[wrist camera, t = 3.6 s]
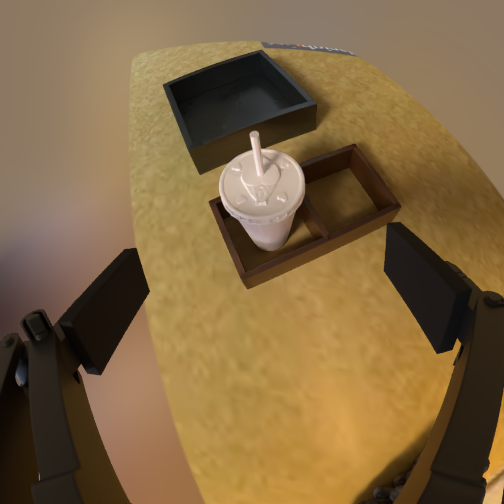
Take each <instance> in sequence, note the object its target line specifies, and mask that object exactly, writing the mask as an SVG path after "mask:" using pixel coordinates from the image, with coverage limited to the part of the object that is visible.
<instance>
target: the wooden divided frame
mask: <svg viewBox="0 0 504 504" xmlns="http://www.w3.org/2000/svg"><path fill="white" fill-rule="evenodd" d="M299 165H300V167H301V169H302V171H303V174H304V178H305V184H308V183H310V182H312V181H315V180H317V179H320V178H322V177H325V176H328V175H330V174H333V173H335V172H338V171H340V170H343V169H345V168H348V167H349V168H350V169H351V171H352V172H353V173H354V175H355V176H356V178H357V179H358V181H359V182H360V183H361V185H362V186H363V188H364V189H365V191H366V192H367V194H368V195H369V197H370V198H371V200H372V201H373V203H374V204H375V206H376V207H377V209H378V210H379V211H378V212H376V213H374V214H372V215H370V216H368V217H365V218H363V219H361V220H359V221H357V222H355V223H353V224H350V225H348V226H346V227H344V228H342V229H340V230H337V231H335V232H333V233H331V234H329V233H328V231H327V229H326V227H325V226H324V224H323V222H322V221H321V219H320V217H319V215H318V214H317V212H316V210H315V209H314V207H313V205H312V204H311V202H310V200H309V199H308V197H307V195H306V194H305V195H304V198H303V200H302V203H301V205H300V206H299V207H298V209H297V210H298V212H299V213H300V215H301V217H302V219H303V220H304V222H305V224H306V226H307V228H308V229H309V231H310V233H311V235H312V237H313V238H314V240H315V241H313V242H311V243H309V244H307V245H305V246H302V247H300V248H298V249H296V250H294V251H291V252H289V253H287V254H285V255H283V256H280V257H278V258H276V259H274V260H271V261H269V262H267V263H265V264H262V265H260V266H258V267H256V268H253V269H251V270H249V271H247V272H246V270H245V268H244V266H243V264H242V261H241V259H240V257H239V254H238V252H237V250H236V248H235V245H234V243H233V241H232V238H231V236H230V234H229V231H228V229H227V227H226V224H225V222H224V220H223V219H225V218H227V217H229V216H231V214H230V213H229V212H228V211H227V210H226V209H225V207H224V205H223V202H222V200H221V196H219V197H217V198H215V199H213V200H210V201H209V204H210V207H211V209H212V212H213V214H214V217H215V219H216V221H217V224H218V226H219V229H220V231H221V233H222V236H223V238H224V240H225V243H226V245H227V248H228V250H229V252H230V255H231V257H232V259H233V262H234V264H235V267H236V269H237V271H238V274H239V276H240V278H241V280H242V282H243V284H244V285H245V287H246V288H247V289H250V288H252V287H255V286H257V285H259V284H261V283H264V282H266V281H268V280H270V279H273V278H275V277H277V276H279V275H281V274H284V273H286V272H288V271H290V270H292V269H295V268H297V267H299V266H301V265H303V264H305V263H308V262H310V261H312V260H314V259H316V258H318V257H320V256H323V255H325V254H327V253H329V252H331V251H333V250H335V249H337V248H339V247H342V246H344V245H346V244H348V243H350V242H352V241H354V240H356V239H358V238H360V237H362V236H364V235H366V234H368V233H370V232H373V231H375V230H377V229H379V228H381V227H383V226H385V225H387V223H391V222H392V220H393V219H394V217H395V216H396V214H397V213H398V211H399V210H400V208H401V205H400V204H399V202H398V201H397V199H396V198H395V196H394V195H393V194H392V192H391V191H390V189H389V188H388V186H387V185H386V184H385V182H384V181H383V179H382V178H381V177H380V175H379V174H378V173H377V171H376V170H375V169H374V167H373V166H372V165H371V163H370V162H369V161H368V159H367V158H366V157H365V155H364V154H363V153H362V152H361V150H360V149H359V148H358V147H357V145H356V144H352V145H349V146H346V147H343V148H340V149H337V150H335V151H332V152H329V153H326V154H323V155H321V156H318V157H315V158H313V159H310V160H307V161H305V162H302V163H299Z"/></svg>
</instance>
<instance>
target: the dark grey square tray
mask: <svg viewBox="0 0 504 504" xmlns="http://www.w3.org/2000/svg"><path fill="white" fill-rule="evenodd" d="M163 87H164V90H165V93H166V95H167V98H168V100H169V103H170V106H171V108H172V111H173V113H174V116H175V118H176V121H177V123H178V126H179V129H180V131H181V134H182V136H183V139H184V141H185V144H186V146H187V149H188V151H189V153H190V155H191V158H192V160H193V162H194V164H195V166H196V168H197V170H198V172H199V174H200V175H201V174H203V173H205V172H207V171H210V170H212V169H214V168H216V167H219V166H221V165H224V164H226V163H228V162H230V161H231V160H233V159H234V158H235V157H237V156H238V155H240V154H242V153H244V152H247V151H250V150H253V149H252V144H251V139H250V133H251V132H252V131H257V132H258V133H259V139H260V145H261V149H263V148H266V147H268V146H271V145H274V144H276V143H279V142H282V141H285V140H287V139H290V138H293V137H296V136H299V135H301V134H304V133H307V132H310V131H313V130H315V129H316V114H317V103H316V102H315V101H314V100H313V99H312V98H311V97H310V96H309V95H308V94H307V93H306V92H305V91H304V90H303V88H302V87H301V86H300V85H299V84H298V83H297V82H296V81H295V80H294V79H293V78H292V77H291V76H290V75H289V74H287V73H286V72H285V71H284V70H283V69H282V68H281V67H280V66H279V65H278V64H277V63H276V62H275V61H274V60H273V59H272V58H270V57H269V56H268V55H267V54H266V53H265V52H264V51H263V50H258V51H255V52H251V53H248V54H244V55H241V56H237V57H234V58H231V59H228V60H225V61H222V62H219V63H216V64H213V65H210V66H208V67H205V68H202V69H199V70H197V71H194V72H192V73H189V74H187V75H184V76H182V77H179V78H177V79H174V80H172V81H170V82H168V83H165V84H163Z"/></svg>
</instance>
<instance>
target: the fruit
mask: <svg viewBox="0 0 504 504" xmlns="http://www.w3.org/2000/svg"><path fill="white" fill-rule="evenodd" d="M420 455H421V454H420ZM420 455H418V456H417V457H416V458H415V460H414V463H413V465H414V466H413V467H412V469H411V471H408V472H406V473H404V474H400V475H397V476H396V477H395V478H394V480H393V483H392V486H393V487H391V486H388V485H386V484H382V485H380V486H378V487H377V488H376V489H375V490H374V492H373V497H371V498H369V499H368V500H365V501H362V502H360V503H359V504H393V503H394V501H395V500H396V498H397V497H398V495H399V494H400V492H401V490H402V489H403V487H404V485H405V483H406V482H407V480H408V478H409V476H410V475H411V473H412V471H413V469H414V467H415V465H416V463H417V461H418V459H419V457H420ZM489 464H490V462H489V459H488V461H487V464H486V467H485V470H484V473H485V472H486V471H487V470H488V468H489ZM481 484H482V485H483V486H485V487H486V485H487V482H486V479H485V478H483V477H482V480H481Z"/></svg>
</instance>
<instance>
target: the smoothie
mask: <svg viewBox="0 0 504 504" xmlns="http://www.w3.org/2000/svg"><path fill="white" fill-rule="evenodd" d="M250 139H251V144H252V149H253V150H250V151H247V152H244V153H242V154H240V155H238V156H237V157H235V158H234V159H233V160H231V161H230V162H229V163H228V164H227V166H226V167H225V168H224V170H223V172H222V174H221V177H220V180H219V192H220V196H221V200H222V202H223V205H224V207H225V209H226V210H227V211H228V212H229V213H230V214H231V216H233V217H234V218H236V219H238V220H239V222H240V223H241V224H242V226H243V227H244V229H245V230H246V232H247V233H248V235H249V236H250V237H251V239H252V240H253V242H254V243H255V245H256V246H257V247H259V248H260V249H262V250H265V251H274V250H277V249H279V248H281V247H282V246H283V245H284V244H285V243H286V241H287V239H288V235H289V232H290V229H291V225H292V222H293V218H294V215H295V211H296V210H297V209H298V207H299V206H300V205H301V203H302V200H303V198H304V195H305V178H304V174H303V171H302V169H301V167H300V165H299V164H298V163H297V162H296V161H295V160H294V159H293V158H292V157H291V156H289V155H287V154H286V153H283V152H281V151H278V150H274V149H261V145H260V139H259V133H258V132H257V131H252V132H251V133H250Z"/></svg>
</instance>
